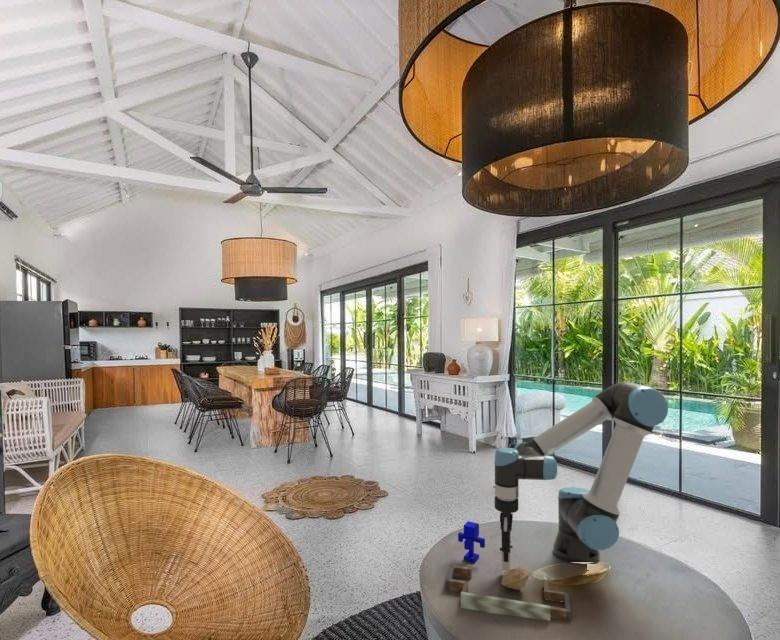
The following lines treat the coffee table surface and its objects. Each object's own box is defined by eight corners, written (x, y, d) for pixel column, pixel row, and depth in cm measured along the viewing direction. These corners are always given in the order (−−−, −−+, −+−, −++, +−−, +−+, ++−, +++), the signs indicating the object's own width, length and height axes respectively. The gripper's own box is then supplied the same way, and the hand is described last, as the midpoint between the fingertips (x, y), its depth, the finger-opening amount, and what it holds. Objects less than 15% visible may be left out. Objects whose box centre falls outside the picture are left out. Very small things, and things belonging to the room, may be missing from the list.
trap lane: (565, 589, 141) (565, 576, 141) (571, 626, 124) (571, 611, 124) (451, 572, 151) (451, 560, 151) (442, 604, 134) (442, 590, 134)
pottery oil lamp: (522, 576, 149) (522, 554, 149) (534, 599, 137) (534, 575, 137) (495, 576, 149) (495, 554, 149) (504, 599, 137) (504, 575, 137)
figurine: (465, 566, 155) (465, 530, 155) (457, 555, 162) (456, 521, 162) (486, 563, 157) (486, 528, 157) (477, 552, 164) (476, 518, 164)
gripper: (496, 488, 157) (495, 558, 157) (493, 503, 145) (492, 578, 145) (518, 491, 155) (518, 561, 155) (517, 506, 143) (517, 582, 143)
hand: (506, 569), depth 150 cm, fingers closed
